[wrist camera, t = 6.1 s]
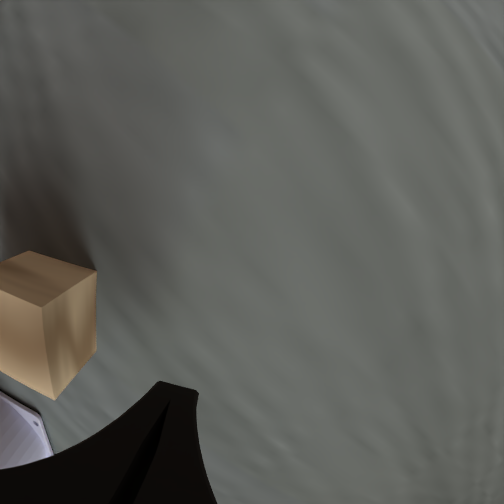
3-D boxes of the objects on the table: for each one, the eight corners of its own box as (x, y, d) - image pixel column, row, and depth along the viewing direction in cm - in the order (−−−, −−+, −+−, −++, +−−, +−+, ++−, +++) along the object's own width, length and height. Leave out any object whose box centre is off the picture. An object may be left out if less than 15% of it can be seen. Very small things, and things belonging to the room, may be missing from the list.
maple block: (97, 350, 14) (55, 400, 10) (33, 324, 14) (-14, 362, 10) (97, 270, 13) (41, 307, 9) (29, 250, 13) (-30, 275, 9)
